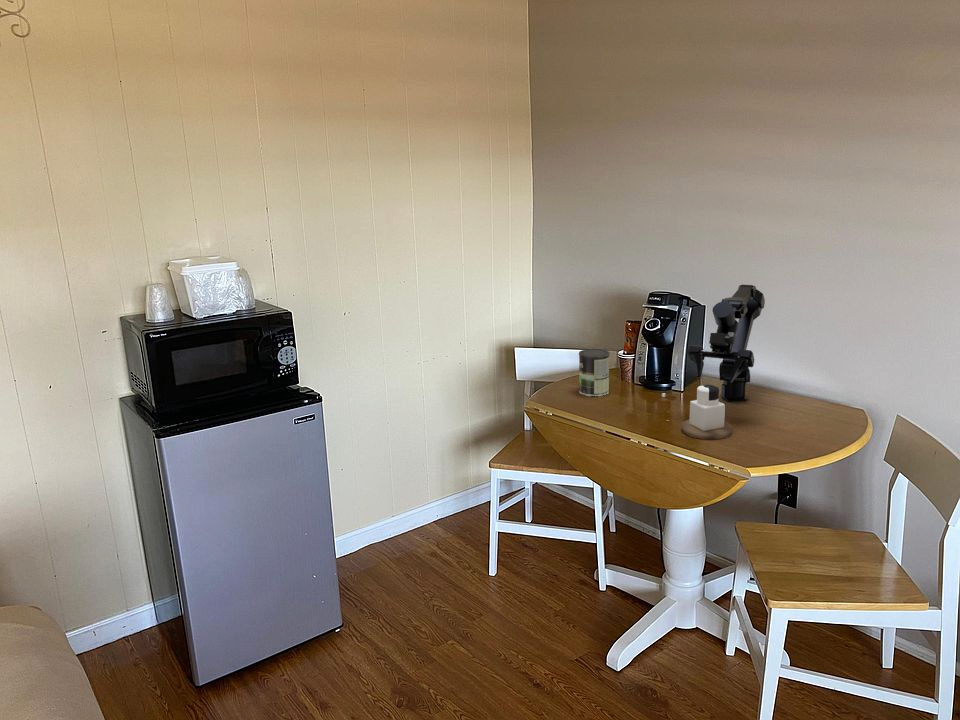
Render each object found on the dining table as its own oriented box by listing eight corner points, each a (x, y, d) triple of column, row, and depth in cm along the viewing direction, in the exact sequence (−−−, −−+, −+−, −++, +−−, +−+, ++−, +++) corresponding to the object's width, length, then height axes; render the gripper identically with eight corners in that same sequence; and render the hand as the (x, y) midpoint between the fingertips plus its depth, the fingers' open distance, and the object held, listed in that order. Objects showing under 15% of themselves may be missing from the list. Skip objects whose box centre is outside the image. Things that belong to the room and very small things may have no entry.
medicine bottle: (709, 420, 226) (710, 381, 223) (724, 427, 220) (726, 388, 217) (688, 423, 224) (690, 384, 221) (703, 431, 218) (705, 391, 215)
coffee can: (578, 396, 257) (578, 356, 253) (579, 387, 267) (579, 348, 263) (609, 396, 256) (610, 356, 252) (608, 387, 266) (609, 348, 262)
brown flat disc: (720, 421, 229) (720, 416, 229) (739, 438, 216) (739, 433, 216) (675, 424, 229) (675, 419, 228) (690, 441, 215) (690, 436, 215)
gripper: (690, 318, 229) (678, 363, 223) (754, 323, 220) (743, 370, 214) (696, 338, 238) (685, 381, 232) (758, 343, 229) (748, 389, 223)
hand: (714, 380), depth 225 cm, fingers open, 9 cm apart
